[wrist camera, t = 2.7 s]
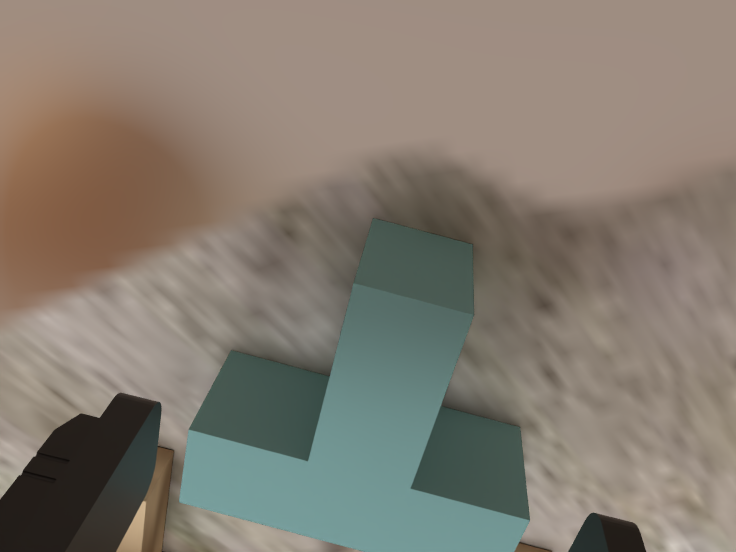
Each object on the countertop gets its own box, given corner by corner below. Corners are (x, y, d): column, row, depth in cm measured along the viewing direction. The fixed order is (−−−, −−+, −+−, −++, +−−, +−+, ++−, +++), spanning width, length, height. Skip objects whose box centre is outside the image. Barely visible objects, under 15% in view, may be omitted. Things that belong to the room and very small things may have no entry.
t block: (257, 187, 20) (213, 245, 16) (588, 274, 20) (614, 352, 16) (220, 417, 24) (179, 502, 21) (492, 489, 24) (496, 587, 21)
